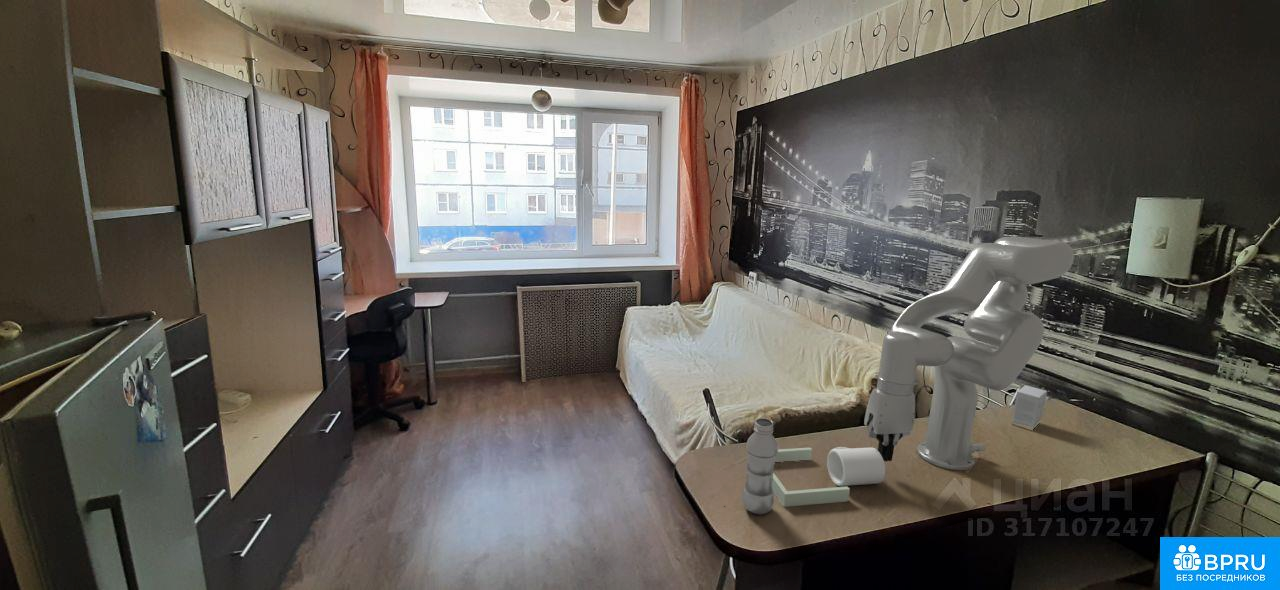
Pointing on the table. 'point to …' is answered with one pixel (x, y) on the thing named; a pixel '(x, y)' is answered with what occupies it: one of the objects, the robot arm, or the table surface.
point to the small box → (1029, 406)
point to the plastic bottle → (760, 468)
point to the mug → (855, 466)
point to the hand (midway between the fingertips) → (884, 458)
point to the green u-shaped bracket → (805, 495)
